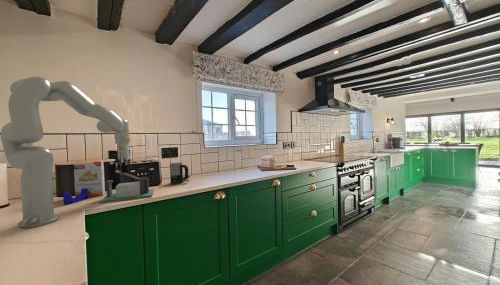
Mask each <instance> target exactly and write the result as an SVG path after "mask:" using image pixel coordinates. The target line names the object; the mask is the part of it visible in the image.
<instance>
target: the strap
mask: <svg viewBox="0 0 500 285" xmlns="http://www.w3.org/2000/svg"><path fill="white" fill-rule="evenodd" d="M114 173H117V174H120V175H123V176H126V177H129V178H132V179H134V180H137V181H140V179H141V178H142V177H137V176H135V175H133V174H129V173H128V172H122V170H121V171H120V170H118V169H116V170H115V172H114Z"/></svg>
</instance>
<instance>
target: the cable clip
mask: <svg viewBox="0 0 500 285" xmlns="http://www.w3.org/2000/svg"><path fill="white" fill-rule="evenodd" d="M62 197H63V199H62V200H63V205H64V206H65V205H66V206H68V205H72V204H75V203H78V202H82V201H85V200H88V199H89V197H88V189H81V193H80V194H78V195H77V196H76V197H72V193H70V192H65V193H63V194H62Z"/></svg>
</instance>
